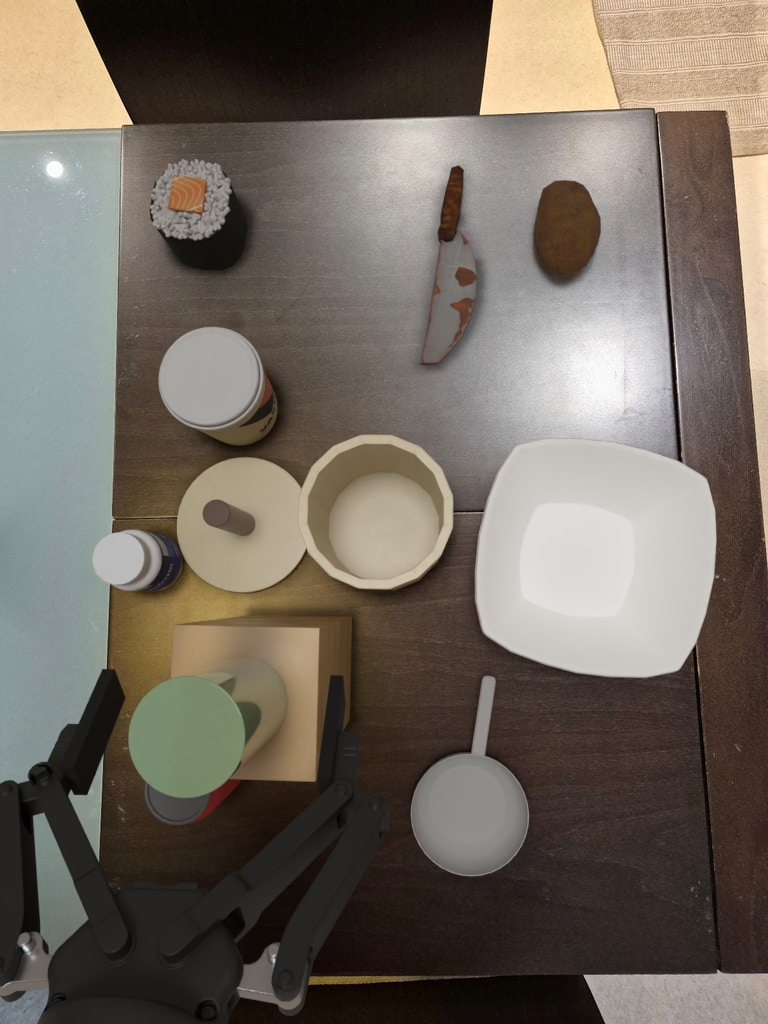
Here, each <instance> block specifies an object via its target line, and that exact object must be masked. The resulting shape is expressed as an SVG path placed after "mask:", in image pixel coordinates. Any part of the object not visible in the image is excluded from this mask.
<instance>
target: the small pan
mask: <svg viewBox="0 0 768 1024" xmlns="http://www.w3.org/2000/svg"><path fill="white" fill-rule="evenodd" d="M496 680H497V679H496V677H494V676H493V675H487V674H486V675H483V676H482V678H481V684H480V691H479V697H478V705H477V711H476V718H475V725H474V730H473V738H472V743H471V751H463V752H462V751H461V752H455V753H451V754H448V755H446V756H444V757H442V758H440V759H438V760H437V761H435V762H434V763H433V764H431V766H429V767H428V769H427V770H426V771H424V773H423V775H422V776H421V777H420V778H419V781H418V782H417V785H416V787H415V789H414V792H413V796H412V800H411V805H410V806H411V807H410V820H411V828H412V831H413V835H414V837H415V839H416V841H417V843H418V846H419V847H420V848H421V850H422V851H423V853H424V855H426V857H428V859H429V860H430V861H431V862H432V863H434V864H435V865H437V866H438V867H439V868H441V869H443V870H445V871H446V872H449V873H451V874H454V875H458V876H462V877H463V876H464V877H479V876H480V877H481V876H485V875H488V874H492V873H494V872H496V871H499V870H500V869H502V868H503V867H505V866H506V865H507V864H509V863H510V862H511V861H512V860H513V859H514V857H516V856H517V854H518V852H519V851H520V849H521V848H522V847H523V844H524V842H525V839H526V837H527V833H528V829H529V823H530V822H529V820H530V811H529V804H528V803H529V802H528V800H527V797H526V793H525V791H524V788H523V787H522V785H521V783H520V782H519V780H518V779H517V778H516V776H515V775H514V774H513V773H512V772H511V770H509V768H507V767H506V766H505V765H504V764H503V763H501V762H500V761H499V760H497V759H495V758H493V757H491V756H488V755H487V754H486V751H487V745H488V737H489V731H490V724H491V717H492V711H493V703H494V697H495V690H496V684H497V681H496Z"/></svg>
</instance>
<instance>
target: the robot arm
mask: <svg viewBox="0 0 768 1024" xmlns="http://www.w3.org/2000/svg"><path fill="white" fill-rule="evenodd" d="M123 689H124V688H123V687H122V684H121V682H120V679H119V677H118V674H117V672H116V669H114V668H102V669H101V672H100V674H99V676H98V678H97V681H96V683H95V685H94V687H93V688H92V691H91V694H90V696H89V698H88V700H87V703H86V705H85V707H84V710H83V711H82V714H81V716H80V719H79V722H78V723H67V724H66V725H65V726H64V727H63V729H61V731H60V733H59V735H58V737H57V740H56V741H55V743H54V747H53V748H52V750H51V753H50V754H49V757H48V759H47V761H40V762H37V763H35V764H34V765H32V766H31V767H30V769H29V770H28V773H27V780H25V781H22V782H17V781H15V780H14V779H13V780H12V779H7V780H4V781H2V782H0V998H1V999H2V1000H3V1001H4V1002H5V1003H6V1002H7V1003H13V1002H16V1001H19V999H21V998H23V996H24V995H25V994H26V992H27V991H36V990H37V991H39V990H48V995H47V1001H46V1004H45V1007H44V1009H43V1010H42V1012H41V1014H40V1016H39V1018H38V1020H37V1023H36V1024H228V1022H229V1018H230V1016H231V1015H232V1012H233V1010H234V1008H235V1006H236V1005H237V1004H238V1002H239V1001H240V999H241V998H243V999H248V1000H254V1001H259V1002H265V1003H270V1004H274V1005H277V1007H278V1009H279V1012H280V1013H281V1014H282V1015H285V1016H287V1017H293V1016H295V1015H297V1014H299V1013H300V1012H301V1011H302V1010H303V1008H304V1005H305V1001H306V998H307V993H308V989H309V983H310V979H311V975H312V969H313V965H314V961H315V959H316V958H317V956H318V954H319V952H320V951H321V949H322V947H323V946H324V944H325V942H326V940H327V938H328V936H329V935H330V933H331V931H332V930H333V928H334V926H335V925H336V923H337V921H338V919H339V918H340V916H341V914H342V912H343V910H344V909H345V907H346V905H347V903H349V901H350V898H351V897H352V895H353V893H354V891H355V890H356V888H357V886H358V884H359V883H360V881H361V880H362V877H363V876H364V874H365V873H366V871H367V869H368V867H369V865H370V864H371V862H372V861H373V858H374V857H375V855H376V853H377V851H378V850H379V848H380V846H381V844H382V843H383V841H384V840H385V838H386V836H387V834H388V832H389V805H388V799H387V797H386V795H384V794H383V793H381V792H378V791H375V792H370V793H368V792H365V791H364V790H361V789H360V788H359V787H358V778H359V777H358V775H359V763H360V742H359V738H358V734H357V732H356V731H343V724H344V714H345V705H346V703H345V691H344V679H343V675H330V682H329V690H328V697H327V705H326V712H325V720H324V728H323V735H322V743H321V750H320V758H319V765H318V773H317V785H318V791H319V792H318V794H319V795H318V796H317V797H316V798H315V799H314V800H313V801H312V802H311V803H310V804H309V805H308V806H307V807H305V808H304V809H303V810H302V811H301V812H300V813H299V814H298V815H297V816H296V817H295V818H294V819H292V820H291V821H290V823H289V824H287V825H286V826H285V827H284V828H283V829H282V830H281V831H280V832H278V834H277V835H276V836H274V837H273V839H271V840H270V841H269V842H268V843H267V844H265V845H264V846H263V848H262V849H261V850H259V851H258V852H257V853H256V854H255V855H254V856H253V857H252V858H251V859H250V860H249V861H248V862H247V863H246V864H245V865H244V866H242V867H241V868H240V869H239V870H237V871H232V872H230V873H228V874H227V875H225V877H223V878H222V879H221V880H220V881H219V882H218V883H217V884H216V885H214V887H213V888H211V890H209V891H208V890H207V889H205V888H202V887H201V884H200V882H196V881H195V882H193V881H192V882H191V881H180V882H176V883H171V884H168V885H164V884H160V883H158V882H155V881H152V880H144V879H143V880H142V879H133V880H132V883H131V885H129V886H126V887H123V888H121V889H120V890H118V891H116V892H115V893H114V891H113V889H112V887H111V885H110V883H109V881H108V878H107V877H106V874H105V872H104V870H103V867H102V866H101V863H100V861H99V859H98V856H97V854H96V853H95V850H94V848H93V846H92V844H91V841H90V839H89V837H88V835H87V833H86V831H85V828H84V827H83V824H82V822H81V820H80V817H79V816H78V814H77V812H76V809H75V807H74V805H73V803H72V800H71V798H70V797H69V795H70V793H71V792H72V794H73V796H88V794H89V793H90V789H91V787H92V784H93V782H94V780H95V777H96V774H97V772H98V770H99V766H100V764H101V762H102V759H103V756H104V754H105V751H106V750H107V749H106V748H107V746H108V744H109V742H110V739H111V737H112V733H113V731H114V730H115V729H114V728H115V726H116V723H117V721H118V719H119V716H120V713H121V710H122V708H123V706H124V703H125V701H126V694H125V692H124V690H123ZM40 814H44V816H45V819H46V821H47V824H48V825H49V828H50V830H51V833H52V836H53V837H54V840H55V842H56V844H57V846H58V849H59V851H60V854H61V855H62V859H63V860H64V863H65V865H66V868H67V870H68V872H69V875H70V878H71V879H72V882H73V886H74V889H75V891H76V894H77V895H78V899H79V900H80V903H81V905H82V908H83V910H84V913H85V915H86V917H87V920H86V921H85V922H84V923H82V925H80V926H79V927H78V928H77V929H76V930H75V931H74V932H73V933H72V934H70V936H69V937H67V938H66V940H65V941H63V943H62V944H61V945H60V946H59V947H57V949H56V950H55V951H54V952H53V954H52V955H50V947H49V944H48V943H47V941H46V940H45V939H44V937H43V936H42V934H41V913H40V901H39V899H40V898H39V884H38V882H39V881H38V870H37V869H38V868H37V855H36V839H35V825H34V816H37V815H40ZM341 834H342V835H341ZM340 835H341V836H340ZM339 836H340V838H339V839H338V841H337V842H336V844H335V846H334V847H333V849H332V851H331V852H330V854H329V856H328V857H327V858H326V860H325V862H324V864H323V865H322V867H321V869H320V870H319V872H318V873H317V875H316V877H315V878H314V880H313V882H312V883H311V885H310V886H309V887H308V889H307V891H306V893H305V894H304V896H303V897H302V898H301V900H300V901H299V904H298V905H297V907H296V908H295V910H294V912H293V913H292V915H291V917H290V919H289V920H288V921H287V922H288V923H287V924H286V926H285V929H284V932H283V933H282V937H281V940H280V942H278V941H277V942H276V941H275V942H272V943H270V944H269V945H266V947H265V948H264V949H263V952H262V954H261V956H260V957H259V958H258V959H257V960H256V961H254V962H252V963H250V964H249V963H244V960H243V957H242V954H241V952H240V950H239V948H238V946H237V943H238V942H239V941H240V940H241V939H242V938H243V937H244V936H246V935H247V933H248V932H249V931H250V930H251V929H252V928H254V926H255V925H256V924H257V922H258V920H259V919H260V916H261V914H262V913H263V911H264V910H266V908H268V907H269V905H270V904H272V903H273V902H274V901H275V899H276V898H277V897H279V896H280V894H281V893H283V891H284V890H285V889H287V888H288V887H289V886H290V884H292V882H293V881H295V879H296V878H297V877H299V876H300V875H301V874H302V873H303V871H305V870H306V869H307V867H309V866H310V864H311V863H313V861H314V860H316V859H317V858H318V856H319V855H321V854H322V853H323V851H325V850H326V849H327V848H328V847H329V846H330V845H331V843H333V842H334V841H335V840H336V839H337V838H338V837H339Z"/></svg>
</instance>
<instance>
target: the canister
mask: <svg viewBox="0 0 768 1024" xmlns="http://www.w3.org/2000/svg"><path fill="white" fill-rule="evenodd" d="M286 711H287V693H286V689H285V685H284V683H283V681H282V679H281V677H280V676H279V674H278V673H277V672H276V671H275V670H274V669H273V668H272V667H271V666H270V665H268V664H267V663H265V662H263V661H262V660H259V659H256V658H252V657H245V656H244V657H235V658H231V659H228V660H225V661H222V662H219V663H216V664H213V665H210V666H207V667H204V668H201V669H198V670H195V671H193V672H190V673H187V674H184V675H181V676H178V677H175V678H172V679H170V678H169V679H167V680H164V681H162V682H160V683H158V684H157V685H155V686H154V687H152V688H151V689H150V690H149V691H148V692H147V693H146V694H145V695H143V697H142V698H141V700H140V701H139V702H138V704H137V706H136V707H135V709H134V711H133V713H132V716H131V719H130V722H129V727H128V734H127V735H128V737H127V738H128V743H127V744H128V750H129V754H130V759H131V761H132V763H133V766H134V768H135V769H136V771H137V773H138V774H139V776H140V777H141V778H142V779H143V781H144V782H147V783H148V784H149V785H150V786H151V787H153V788H154V789H156V790H157V791H159V792H161V793H163V794H166V795H168V796H172V797H176V798H194V797H200V796H203V795H206V794H208V793H210V792H213V791H214V790H216V789H217V788H219V787H220V786H222V785H223V784H224V783H225V782H226V781H227V780H228V779H229V778H230V777H231V776H233V775H234V774H235V773H236V772H237V771H238V770H239V769H240V768H241V767H242V766H243V765H244V764H245V763H246V762H247V761H248V760H249V759H250V758H251V757H252V756H253V755H254V754H255V753H256V752H257V751H258V750H259V749H260V748H261V747H262V746H263V745H264V744H265V743H266V742H267V741H269V740H270V739H271V738H272V737H273V736H274V735H275V733H276V732H277V731H278V730H279V728H280V727H281V725H282V723H283V721H284V718H285V716H286Z"/></svg>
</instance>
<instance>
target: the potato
mask: <svg viewBox="0 0 768 1024" xmlns="http://www.w3.org/2000/svg"><path fill="white" fill-rule="evenodd" d="M601 219H602V218H601V216H600V212H599V210H598V208H597V206H596V204H595V203H594V201H593V198H592V196H591V194H590V191H589V190H588V189H587V188H586V186H585V185H584V184H583V183H581V182H579V181H576V180H569V179H568V180H567V179H563V180H562V179H559V180H554V181H552V182H551V183H549V184H547V185H546V186H545V187H543V188H542V190H541V194H540V198H539V201H538V206H537V212H536V215H535V220H534V221H535V222H534V225H533V242H534V243H533V244H534V248H535V252H536V256H537V259H538V260H539V262H540V263H541V265H542V266H543V267H544V269H546V270H547V271H549V273H551V274H552V275H554V276H556V277H559V278H561V279H563V278H568V277H572V276H575V275H576V274H577V273H579V272H580V271H582V270H583V269H584V268H585V267H586V266H587V265H588V263H589V262H590V260H591V259H592V258H593V256H594V255H595V251H596V249H597V247H598V244H599V241H600V237H601V234H602V223H601V222H602V221H601Z"/></svg>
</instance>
